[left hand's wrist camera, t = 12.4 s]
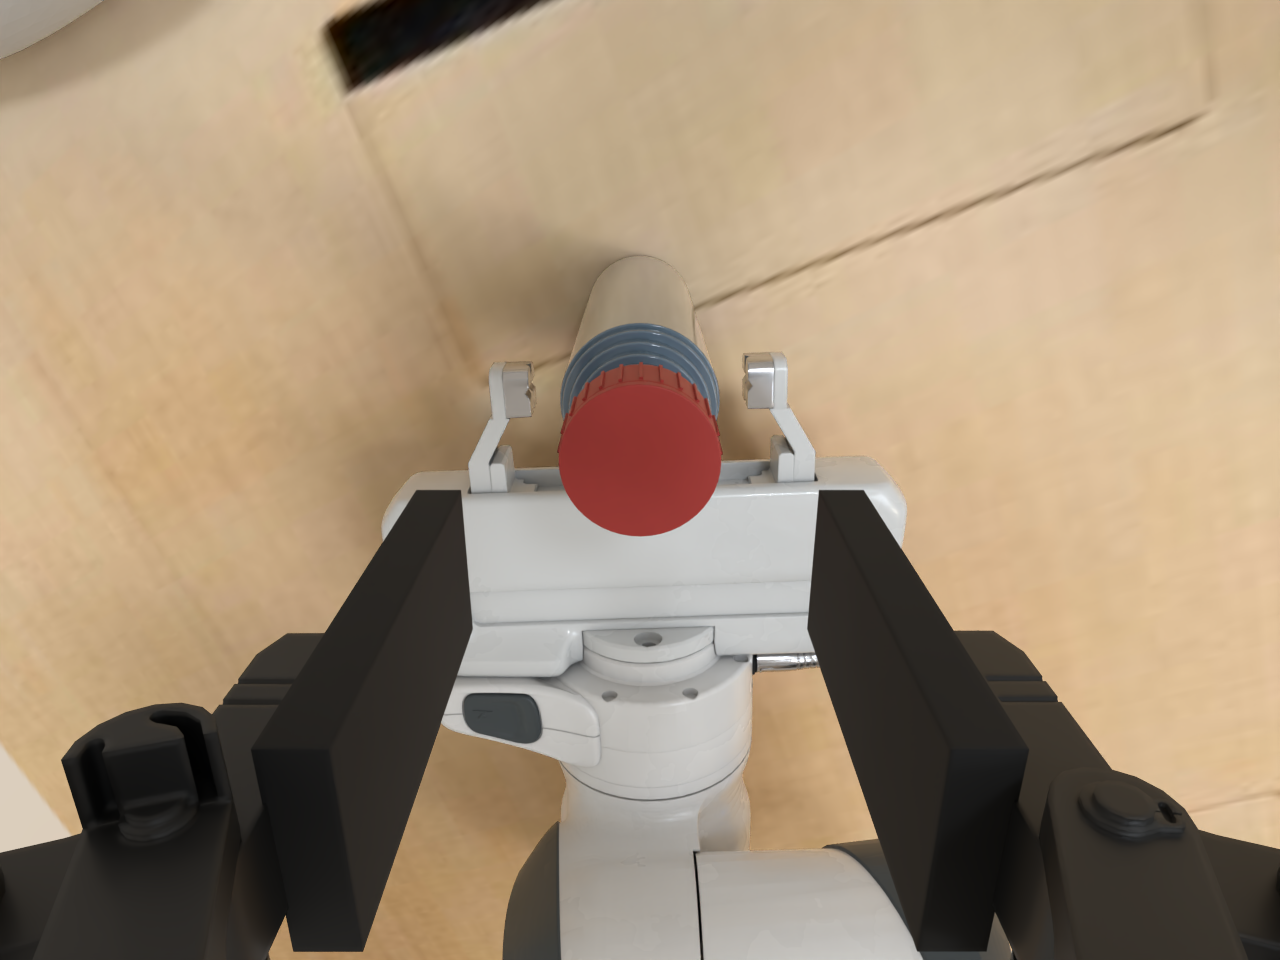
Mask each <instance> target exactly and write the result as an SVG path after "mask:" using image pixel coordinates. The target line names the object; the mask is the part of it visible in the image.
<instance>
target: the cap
mask: <svg viewBox="0 0 1280 960" xmlns="http://www.w3.org/2000/svg"><path fill="white" fill-rule="evenodd" d="M561 434H562V435H561V439H560V442H559V446H558V451H557V453H559V471H560V476H561V480H562V484H563V486H564V488H565V491H566V493H567V495H568V496H569V498H570V500H571V501H572V503H573V504H574V505H575V507H576V508H577V509H578V510H579V511H580V512H581V513H582V514H583V515H584V516H585V517H586V518H588V519H589V520H590V521H592V522H593V523H595V524H596V525H598V526H600V527H602V528H604V529H606V530H609V531H611V532H614V533H618V534H622V535H627V536H640V537H641V536H653V535H658V534H662V533H666V532H669V531H672V530H674V529H676V528H678V527H680V526H682V525H684V524H685V523H687V522H688V521H690V520H691V519H692V518H693V517H695V516H696V515H697V514H698V513H699V512H700V511H701V510H702V509H703V508H704V507H705V505H706V504H707V503H708V501H709V500H710V498H711V496H712V495H713V493H714V491H715V488H716V486H717V483H718V480H719V476H720V471H721V455H723V452H722V448H721V444H720V440H719V437H718V436H720V433H719V430H718V426H717V422H716V418H715V415H712V414H711V410H710V406H709V402H708V399H707V398H705V399H704V398H703V396H702V395H701V393H700V392H699V391H698V390H697V386H696V384H695V383H693V384H691V383H690V382H689V381H688V380H686V379H685V378H683V377H682V376H681V373H680V372H677V373H675V372H673V371H670V370H668V369H665V368H663V365H659V367H658V366H653V365H643V362H639V364H636V365H627V366H623V364H620V365H619V367H618V368H615V369H612V370H609V371H607V372H605V371H602V372H601V375H600V376H598V377H597V378H595V379H594V380H592V381H591V382H590V383H589V382H586V383H585V387H584V389H583V390H582V391H581V392H580V393H579V395H578V396H577V397H576V396H574V398H573V401H572V404H571V408H570V411H569V413H566V415H565V418H564V422H563V426H562V429H561Z"/></svg>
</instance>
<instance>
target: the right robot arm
mask: <svg viewBox="0 0 1280 960" xmlns="http://www.w3.org/2000/svg"><path fill="white" fill-rule="evenodd" d="M743 370H744V372H745V374H746V375H745V376H744V378H743V379H742V395H743V398H744V400H745V401H746V406H747V408H748V409H766V408H769V410H770V411H771V413H772V415H773V416H774V418H775V420H776V422H777V423H778V425H779V427H780V428H781V430H782V432H783V433H784V435H785V437H784V436H783V435H774V436H772V437H771V444H770V459H756V460H729V461H721V471H720V476H719V480H718V483H717V486H716V488H715V491H714V493H713V495H712V496H711V498H710V500H709V501H708V503H707V504H706V505H705V507H704V508H703V509H702V510H701V511H700V512H699V513H698V514H697V515H696V516H695V517H693V518H692V519H691V520H690V521H688V522H687V523H685V524H684V525H682V526H680V527H678V528H676V529H674V530H672V531H669V532H666V533H662V534H658V535H653V536H641V537H640V536H627V535H622V534H618V533H614V532H611V531H609V530H606V529H604V528H602V527H600V526H598V525H596V524H595V523H593V522H592V521H590V520H589V519H588V518H586V517H585V516H584V515H583V514H582V513H581V512H580V511H579V510H578V509H577V508H576V507H575V505H574V504H573V503H572V501H571V500H570V498H569V496H568V495H567V493H566V491H565V488H564V486H563V484H562V480H561V476H560V471H559V467H535V468H514V460H513V452H512V447H511V446H510V445H500V446H499V447H497V445H498V443H499V440H500V438H501V436H502V434H503V432H504V430H505V428H506V426H507V424H508V422H509V420H510V418H519V417H531V416H532V414H533V412H534V411H533V409H534V408H535V406H536V403H537V401H536V389H535V386H534V385H533V383H532V380H533V378H534V367H533V362H497V363H493V365H492V366H491V368H490V370H489V389H490V399H491V408H492V415H491V417H490V419H489V421H488V423H487V425H486V427H485V429H484V431H483V433H482V436H481V438H480V440H479V442H478V444H477V446H476V448H475V450H474V452H473V454H472V456H471V458H470V461H469V463H468V469H469V470H452V471H424V472H418V473H415V474H413V475H412V476H411V477H410V478H409V479H408V480H407V481H406V482H405V484H404V485H403V486H402V487H401V488H400V489H399V491H398V492H397V493H396V494H395V496H394V497H393V499H392V500H391V502H390V504H389V505H388V507H387V509H386V511H385V513H384V516H383V520H382V539H383V541H384V540H385V538H386V537H387V535H388V533H389V532H390V530H391V529H392V527H393V526H394V524H395V522H396V521H397V519H398V518H399V516H400V515H401V513H402V511H403V510H404V508H405V507H406V505H407V504H408V502H409V500H410V499H411V497H412V496H413V494H414V493H415V491H416V490H461V495H462V506H463V518H464V530H465V542H466V553H467V565H468V577H469V588H470V600H471V612H472V624H473V630H472V633H471V636H470V639H469V642H468V645H467V648H466V651H465V654H464V657H463V660H462V663H461V666H460V669H459V671H458V674H457V677H456V680H455V683H454V686H453V689H452V692H451V695H450V698H449V701H448V704H447V707H446V710H445V712H444V715H443V718H442V721H441V724H442V725H443V726H445V727H446V728H448V729H450V730H452V731H455V732H458V733H462V734H466V735H470V736H475V737H479V738H484V739H488V740H492V741H497V742H501V743H505V744H509V745H513V746H516V747H520V748H523V749H527V750H530V751H534V752H537V753H540V754H543V755H546V756H549V757H551V758H554V759H557V760H558V761H559V764H560V766H561V769H562V771H563V773H564V776H565V780H566V788H565V791H564V795H563V798H562V804H561V822H558V821H557V822H556V823H555V824H554V825H553V826H552V827H551V828H550V829H549V830H548V831H547V832H546V834H545V835H544V836H543V837H542V839H541V840H540V842H539V843H538V844H537V846H536V847H535V849H534V850H533V852H532V853H531V855H530V856H529V858H528V859H527V861H526V862H525V864H524V865H523V867H522V868H521V870H520V872H519V873H518V876H517V878H516V881H515V883H514V886H513V889H512V892H511V896H510V900H509V904H508V909H507V914H506V920H505V929H504V940H503V960H1010V957H1011V953H1012V951H1011V948H1010V945H1009V942H1008V939H1007V937H1006V935H1005V933H1004V930H1003V928H1002V926H1001V924H1000V922H999V920H998V917H997V915H996V913H995V914H994V919H993V923H992V928H991V933H990V938H989V942H988V947H987V952H917V950H916V947H915V944H914V941H913V938H912V935H911V932H910V929H909V926H908V924H907V921H906V918H905V915H904V912H903V909H902V906H901V903H900V900H899V897H898V894H897V891H896V888H895V885H894V883H893V880H892V877H891V874H890V871H889V868H888V865H887V862H886V859H885V856H884V853H883V850H882V847H881V844H880V841H879V839H873V840H865V841H857V842H848V843H840V844H832V845H826V846H825V847H823V848H822V849H786V850H751V851H749V848H750V827H751V811H750V801H749V796H748V792H747V789H746V786H745V784H744V781H743V777H742V774H743V771H744V769H745V766H746V763H747V761H748V757H749V754H750V748H751V742H752V694H753V690H752V686H753V679H752V674H755V672H781V671H795V670H797V669H798V670H801V669H803V668H804V669H809V668H816V667H817V668H820V666H819V663H818V660H817V657H816V654H815V651H814V648H813V645H812V642H811V639H810V636H809V633H808V630H807V624H808V612H809V600H810V588H811V577H812V565H813V553H814V541H815V530H816V518H817V506H818V495H819V490H864V491H865V493H866V494H867V496H868V497H869V499H870V501H871V502H872V504H873V505H874V507H875V508H876V510H877V511H878V513H879V515H880V516H881V518H882V519H883V521H884V522H885V524H886V526H887V527H888V529H889V530H890V532H891V533H892V535H893V537H894V538H895V540H896V541H897V543H898V544H899V546H900V547H901V549H902V544H903V538H904V532H905V525H906V517H907V504H906V500H905V497H904V495H903V493H902V491H901V489H900V487H899V486H898V485H897V483H896V482H895V480H894V479H893V478H892V477H891V475H890V474H889V473H888V472H887V471H886V470H885V469H884V468H883V467H882V466H881V465H880V464H879V463H878V462H877V461H876V460H875V459H873V458H871V457H869V456H839V457H815V450H814V448H813V446H812V445H811V443H810V441H809V439H808V437H807V436H806V434H805V432H804V430H803V429H802V427H801V425H800V424H799V422H798V420H797V418H796V417H795V415H794V413H793V411H792V410H791V408H790V406H789V405H788V403H787V385H788V366H787V359H786V357H785V355H784V354H783V353H782V352H760V353H744V354H743Z"/></svg>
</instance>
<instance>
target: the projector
mask: <svg viewBox="0 0 1280 960" xmlns="http://www.w3.org/2000/svg"><path fill="white" fill-rule="evenodd" d="M102 1H104V0H0V59H2V58H5V57H7V56H10V55H12V54H14V53H17V52H19V51H21V50H23V49H25V48H27V47H29V46H31V45H33V44H35V43H37V42H38V41H40V40H42V39H44V38H46V37H48V36H50V35H51V34H53V33H55V32H56V31H58V30H60V29H61V28H63V27H65V26H66V25H68V24H69V23H71V22H73V21H74V20H76V19H77V18H79V17H80V16H82V15H83V14H85V13H86V12H88V11H89V10H91V9H92V8H94V7H95V6H97V5H98V4H99V3H101V2H102Z"/></svg>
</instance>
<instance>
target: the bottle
mask: <svg viewBox="0 0 1280 960" xmlns="http://www.w3.org/2000/svg"><path fill="white" fill-rule="evenodd" d="M639 362H643V365H653V366H658V367H659V365H663V368H665V369H668V370H670V371H673V372H675V373H677V372H680V373H681V376H682V377H683V378H685V379H686V380H688V381H689V382H690V383H691V384H693V383H695V384H696V386H697V390H698V391H699V392H700V393H701V395H702V396H703V398H704V399H705V398H707V399H708V402H709V406H710V410H711V414H712V415H715V418H716V421H717V417H718V413H719V404H720V396H719V387H718V381H717V378H716V375H715V372H714V369H713V366H712V363H711V360H710V356H709V353H708V350H707V347H706V344H705V341H704V338H703V335H702V331H701V328H700V325H699V322H698V319H697V316H696V313H695V310H694V306H693V303H692V300H691V297H690V294H689V291H688V288H687V286H686V284H685V282H684V280H683V279H682V277H681V276H680V274H679V273H678V272H677V271H676V270H675V269H674V268H673V267H671V266H670V265H669V264H667V263H666V262H664V261H662V260H660V259H657V258H654V257H649V256H631V257H626V258H623V259H621V260H618V261H616V262H615V263H613V264H611V265H610V266H609V267H607V268H606V269H605V270H604V271H603V272H602V273H601V274H600V276H599V277H598V279H597V280H596V282H595V284H594V286H593V288H592V291H591V294H590V297H589V300H588V303H587V306H586V309H585V313H584V316H583V319H582V322H581V325H580V328H579V331H578V334H577V337H576V341H575V344H574V347H573V350H572V353H571V356H570V359H569V362H568V366H567V369H566V372H565V375H564V378H563V382H562V387H561V393H560V405H561V413H562V417H563V421H564V418H565V415H566V413H569V411H570V408H571V404H572V401H573V398H574V396H576V397H577V396H578V395H579V393H580V392H581V391H582V390H583V389H584V387H585V383H586V382H589V383H590V382H591V381H592V380H594V379H595V378H597V377H598V376H600V375H601V372H602V371H605V372H607V371H609V370H612V369H615V368H618V367H619V365H620V364H623V366H627V365H636V364H639Z"/></svg>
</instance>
